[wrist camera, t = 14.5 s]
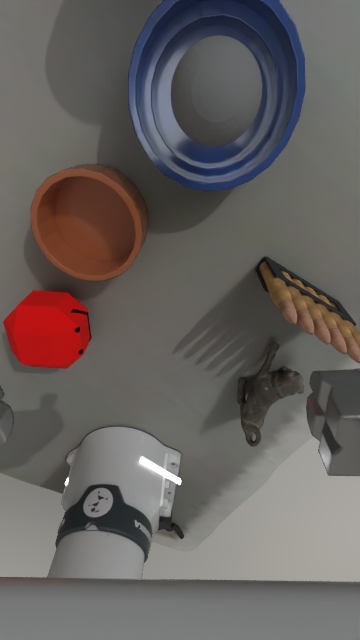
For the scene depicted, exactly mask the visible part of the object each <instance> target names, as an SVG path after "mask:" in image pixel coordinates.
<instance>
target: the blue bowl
mask: <svg viewBox="0 0 360 640" xmlns="http://www.w3.org/2000/svg"><path fill="white" fill-rule="evenodd" d="M218 35H221V36H228V37H231V38H234V39H236V40H238V41H240V42H241V43H242V44H244V45H245V46H246V47H247V48H248V49H249V50H250V52H251V53H252V54H253V56H254V58H255V59H256V61H257V63H258V66H259V69H260V73H261V79H262V97H261V102H260V107H259V110H258V112H257V115H256V117H255V119H254V121H253V122H252V124H251V126H250V127H249V128H248V129H247V131H246V132H245V133H244V134H243V135H241V136H240V137H239V138H238V139H236V140H235V141H233V142H231V143H229V144H226V145H223V146H215V147H211V146H204V145H202V144H199V143H196V142H195V141H193V140H192V139H190V138H189V137H188V136H187V135H186V134H185V133H184V132H183V131H182V129H181V128H180V126H179V125H178V123H177V121H176V119H175V117H174V114H173V110H172V106H171V95H170V94H171V83H172V79H173V75H174V72H175V69H176V67H177V65H178V62H179V61H180V59H181V58H182V56H183V55H184V53H185V52H186V51H187V50H188V49H189V48H190V47H191V46H192V45H194V44H195V43H197V42H198V41H200V40H202V39H204V38H207V37H210V36H218ZM304 93H305V57H304V52H303V49H302V46H301V42H300V39H299V35H298V32H297V29H296V26H295V24H294V22H293V21H292V19H291V17H290V16H289V14H288V13H287V11H286V10H285V8H284V7H283V5H282V4H281V2H280V1H279V0H164V1H163V2H162V3H161V4H160V5H159V6H158V7H157V8H156V9H155V10H154V11H153V13H152V14H151V15H150V17H149V18H148V20H147V22H146V24H145V26H144V28H143V30H142V32H141V34H140V36H139V38H138V40H137V42H136V44H135V46H134V51H133V56H132V60H131V65H130V69H129V74H128V105H129V110H130V114H131V118H132V122H133V126H134V130H135V133H136V136H137V138H138V139H139V141H140V143H141V145H142V147H143V149H144V150H145V152H146V154H147V156H148V157H149V159H150V160H151V161H152V162H153V163H154V164H155V165H156V166H157V167H158V168H159V169H160V170H161V171H162V172H163V173H164V174H165V175H166V176H168V177H170V178H171V179H173V180H175V181H177V182H178V183H180V184H182V185H183V186H186V187H191V188H195V189H199V190H204V191H213V190H226V189H230V188H233V187H235V186H238V185H240V184H243V183H246V182H248V181H250V180H252V179H253V178H254V177H256V176H257V175H258V174H260V173H261V172H262V171H264V170H265V169H266V168H268V167H269V166H270V165H271V164H272V163H273V161H274V160H275V159H276V158H277V156H278V155H279V154H280V153H281V151H282V150H283V149H284V148H285V146H286V144H287V143H288V141H289V139H290V137H291V135H292V132H293V130H294V128H295V126H296V124H297V122H298V120H299V117H300V112H301V107H302V103H303V98H304Z"/></svg>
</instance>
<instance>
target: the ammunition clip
mask: <svg viewBox="0 0 360 640" xmlns="http://www.w3.org/2000/svg"><path fill="white" fill-rule="evenodd" d="M255 270H256V272H257V274H258V277H259V279H260V281H261V283H262V286H263V288H264V290H265V291H267V292H268V293H270V296H271V298H272V300H273V302H274V303H275V305H276V306H277V307H278V309H279V310H280V312H281V314H282V315H283V317H284V318H285V319H286V320H287V321H288V322H289V323H291V324H293V325H295V324H296V322H297V323H298V324H299V326H300V327H301V328H302V329H303V330H304V331H305V332H306V333H308V334H310V335H312V334H313V333H314V334H315V335H316V336H317V337H318V338H319V339H320V340H321V341H322V342H323V343H325V344H330V343H331V345H332V346H333V347H334V348H335V349H336V350H338V351H339V352H341V353H343V354H346V353H347V354H348V355H349V356H350V357H351V358H352V359H353V360H355V361H356V362H358V363H360V332H359V331H358V330H357V329H356V327H355V325H356V323H355V322H354V320H353V319H352V318H351V317H350V315H349V314H348V313H347V311H346V310H345V309H344V308H343V306H342V305H341V304H340V302H338V301H337V300H335V299H334V298H332V297H330V296H329V295H327V294H326V293H324V292H322V291H321V290H319V289H318V288H316V287H315V286H313V285H311V284H310V283H308V282H307V281H305V280H303V279H302V278H300V277H299V276H297V275H295V274H294V273H292V272H291V271H289V270H287V269H286V268H284V267H283V266H281V265H279V264H278V263H276V262H275V261H273V260H271V259H270V258H268V257H264V258H263V260H262V261H261V262H260V264H259V265H258V266H257V267H256V269H255Z"/></svg>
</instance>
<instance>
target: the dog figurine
mask: <svg viewBox="0 0 360 640" xmlns="http://www.w3.org/2000/svg"><path fill="white" fill-rule="evenodd" d="M278 348H279V345H278V344H277V343H276V342H272V343H271V344H270V349H269V351H268V352H267V358H266V360H265V362H264V364H263V366H262V368H261V369H260V371H259V372H258V373H257V375H256V377H255V380H254V387H253V388H252V390H251V391H250V393H249V395H248V398H247V402H246V400H245V386H246V382H247V381H246V379H239V388H238V398H237V400H238V403H239V405H240V412H241V424H242V428H243V431H244V432H245V435H246V440H247V442H248V444H249V445H250V446H257V445H258V444H259V442H260V440H261V434H260V431H259V429H260V428H261V427H262V425H263V423H264V417H265V415H266V413H267V411H268V409H269V407H270V406H271V405H272V404H273V403H275V402H276V401H277V400H279V399H282V398H284V397H286V396H290V395H294V394H295V393H299V394H301V393H303V392H304V384H303V378H302V376H301V375H300V373H298V372H296V371H292V370H291V369H288V368H287V367H283V368H281V369H280V370H279V371H278V373H276V372H272V373H268V372H269V368H270V366H271V363H272V360H273V358H274V356H275V353H276V351H277V350H278ZM254 433H255V434H256V440H255V441H253V440H252V436H253V434H254Z"/></svg>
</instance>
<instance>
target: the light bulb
mask: <svg viewBox="0 0 360 640" xmlns="http://www.w3.org/2000/svg"><path fill="white" fill-rule="evenodd" d="M170 95H171V106H172V110H173V114H174V117H175V119H176V121H177V123H178V125H179V126H180V128H181V129H182V131H183V132H184V133H185V134H186V135H187V136H188V137H189V138H190V139H192V140H193V141H195V142H196V143H199V144H202V145H204V146H211V147H215V146H223V145H226V144H229V143H231V142H233V141H235V140H236V139H238V138H239V137H240V136H241V135H243V134H244V133H245V132H246V131H247V129H248V128H249V127H250V126H251V124H252V122H253V121H254V119H255V117H256V115H257V112H258V110H259V107H260V102H261V97H262V79H261V73H260V69H259V66H258V63H257V61H256V59H255V58H254V56H253V54H252V53H251V52H250V50H249V49H248V48H247V47H246V46H245V45H244V44H242V43H241V42H240V41H238V40H236V39H234V38H231V37H228V36H221V35H218V36H210V37H207V38H204V39H202V40H200V41H198V42H197V43H195V44H194V45H192V46H191V47H190V48H189V49H188V50H187V51H186V52H185V53H184V55H183V56H182V58H181V59H180V61H179V62H178V65H177V67H176V69H175V72H174V75H173V79H172V83H171V94H170Z"/></svg>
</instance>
